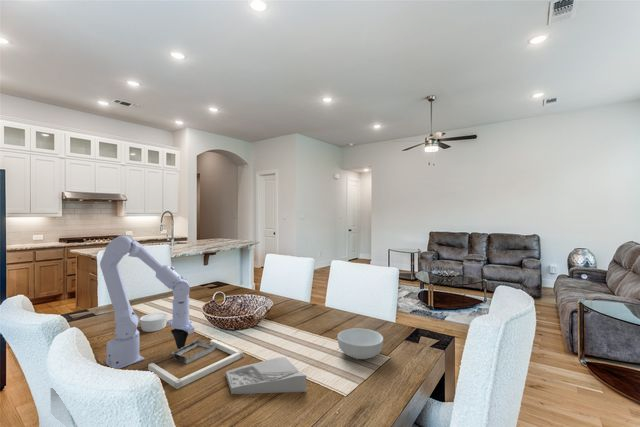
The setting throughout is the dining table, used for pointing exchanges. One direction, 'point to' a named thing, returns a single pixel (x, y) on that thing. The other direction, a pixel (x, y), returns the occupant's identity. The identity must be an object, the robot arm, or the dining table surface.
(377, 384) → the dining table surface
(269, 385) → the door stopper
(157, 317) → the ramekin
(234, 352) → the trivet frame
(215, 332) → the dining table surface
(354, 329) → the cereal bowl
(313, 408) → the dining table surface
